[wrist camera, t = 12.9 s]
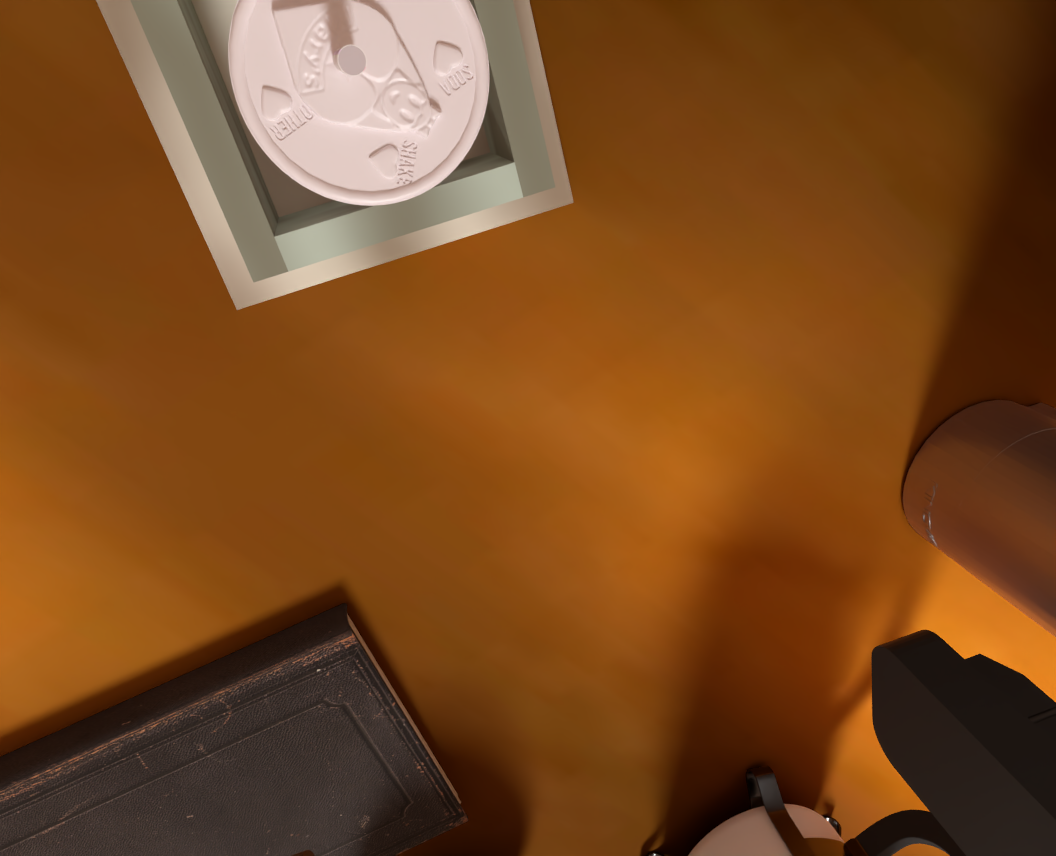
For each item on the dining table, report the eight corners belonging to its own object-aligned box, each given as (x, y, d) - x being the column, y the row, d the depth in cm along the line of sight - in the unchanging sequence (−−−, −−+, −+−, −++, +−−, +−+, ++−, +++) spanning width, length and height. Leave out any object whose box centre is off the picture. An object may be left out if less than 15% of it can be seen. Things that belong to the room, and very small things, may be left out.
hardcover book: (461, 788, 45) (468, 821, 43) (92, 963, 44) (81, 1006, 42) (345, 594, 38) (346, 624, 36) (-107, 796, 36) (-132, 839, 34)
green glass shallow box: (473, -216, 26) (507, -277, 21) (566, 199, 32) (607, 218, 28) (52, -111, 24) (-7, -154, 20) (239, 303, 30) (226, 341, 26)
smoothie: (310, -80, 25) (307, -215, 13) (472, 46, 28) (596, 35, 16) (220, 95, 26) (139, 126, 14) (382, 198, 29) (431, 298, 17)
